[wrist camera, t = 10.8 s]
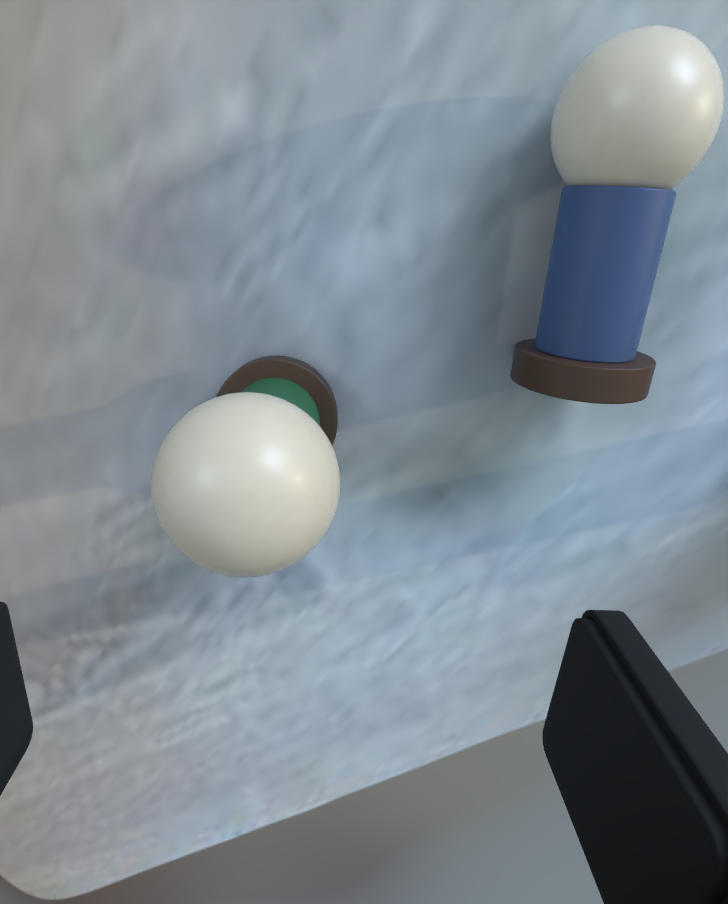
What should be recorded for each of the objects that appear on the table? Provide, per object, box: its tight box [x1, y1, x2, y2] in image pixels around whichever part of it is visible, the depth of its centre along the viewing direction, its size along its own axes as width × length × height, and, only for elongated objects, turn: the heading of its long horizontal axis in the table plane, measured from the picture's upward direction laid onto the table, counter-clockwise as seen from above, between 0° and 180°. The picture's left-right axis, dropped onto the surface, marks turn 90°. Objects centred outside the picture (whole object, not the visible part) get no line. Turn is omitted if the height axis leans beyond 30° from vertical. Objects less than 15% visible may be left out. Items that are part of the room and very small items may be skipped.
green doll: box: [152, 356, 340, 577], centre depth 20 cm, size 13×6×6 cm
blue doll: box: [510, 25, 724, 404], centre depth 21 cm, size 13×6×6 cm, turn 177°
